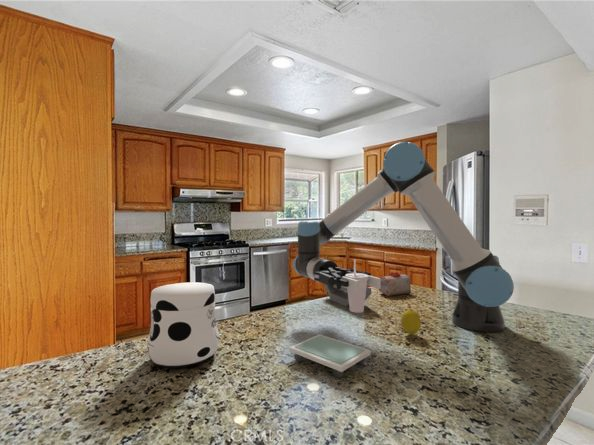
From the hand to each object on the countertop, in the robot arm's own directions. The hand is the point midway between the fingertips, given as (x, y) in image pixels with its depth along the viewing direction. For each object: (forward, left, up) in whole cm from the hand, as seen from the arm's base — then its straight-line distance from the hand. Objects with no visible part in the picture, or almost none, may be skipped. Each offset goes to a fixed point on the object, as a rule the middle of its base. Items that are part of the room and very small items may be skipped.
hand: (368, 284), depth 85 cm
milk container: (+34, +33, -19) cm, 51 cm away
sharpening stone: (+34, -39, -19) cm, 55 cm away
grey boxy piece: (+26, -65, -19) cm, 72 cm away
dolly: (+5, +10, -18) cm, 22 cm away
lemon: (-2, -21, -19) cm, 28 cm away
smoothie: (+5, -2, -8) cm, 10 cm away
